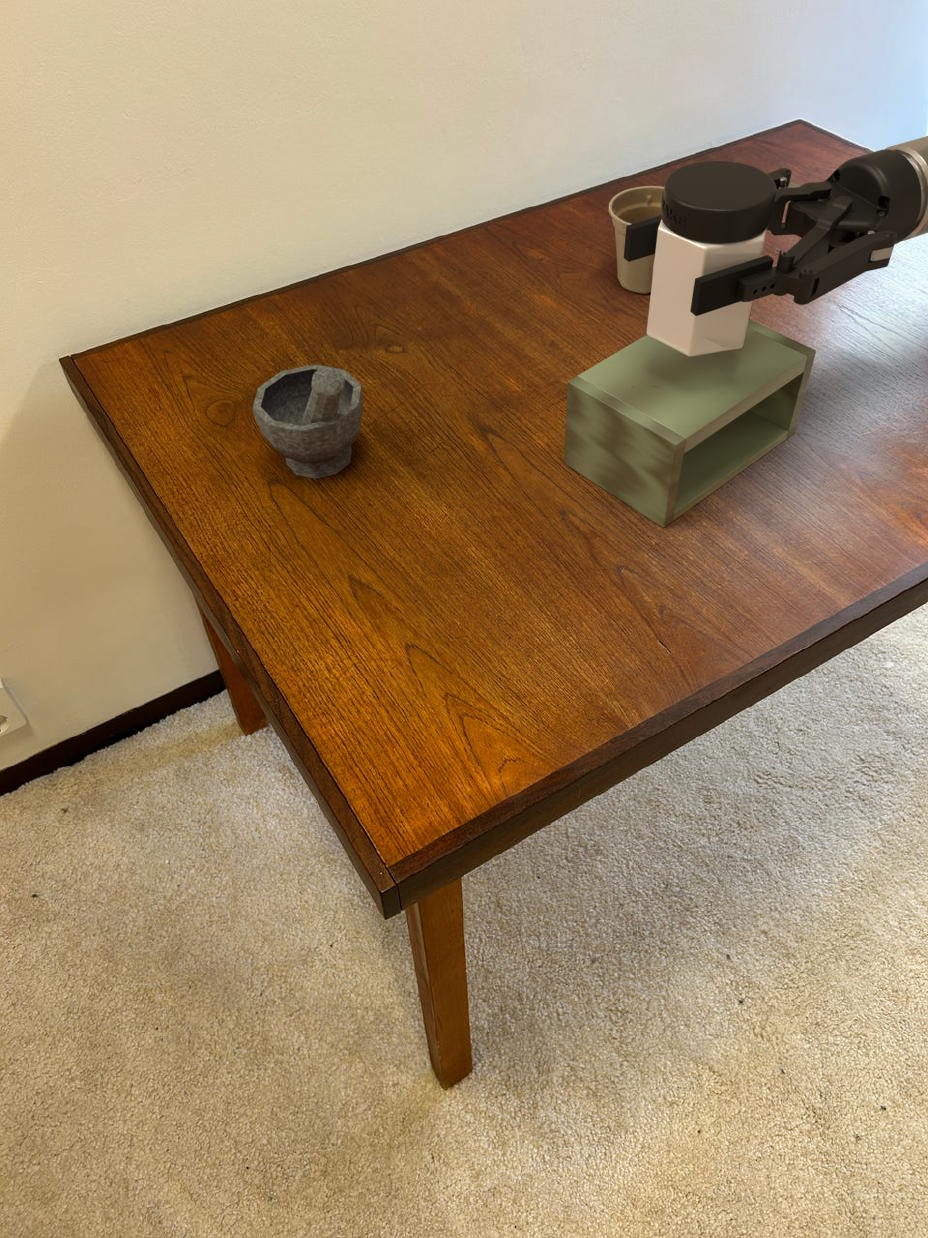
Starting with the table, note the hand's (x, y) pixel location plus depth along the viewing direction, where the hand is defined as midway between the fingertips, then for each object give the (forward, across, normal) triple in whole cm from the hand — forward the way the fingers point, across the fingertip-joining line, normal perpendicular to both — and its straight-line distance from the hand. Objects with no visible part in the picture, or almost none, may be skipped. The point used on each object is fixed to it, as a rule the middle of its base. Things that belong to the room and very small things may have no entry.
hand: (660, 269), depth 74 cm
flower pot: (-18, +26, -19) cm, 38 cm away
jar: (-5, 0, -7) cm, 8 cm away
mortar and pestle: (+25, +15, -19) cm, 35 cm away
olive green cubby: (-5, 0, -19) cm, 20 cm away
